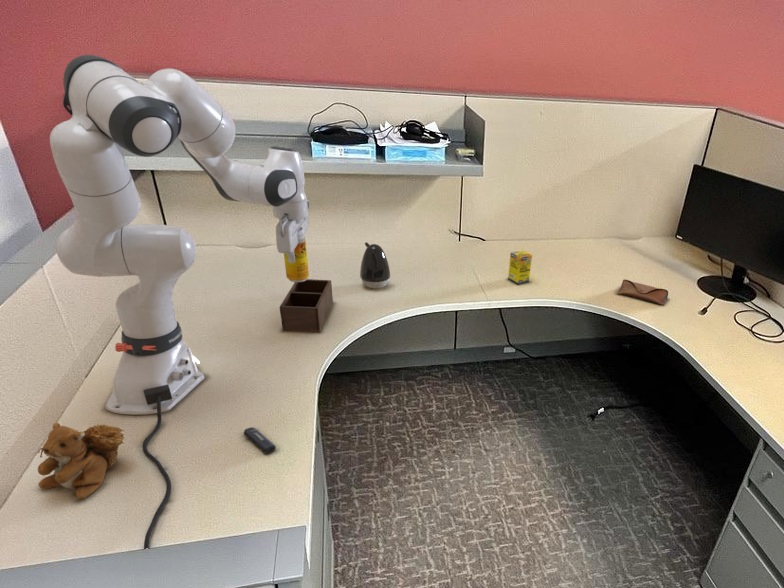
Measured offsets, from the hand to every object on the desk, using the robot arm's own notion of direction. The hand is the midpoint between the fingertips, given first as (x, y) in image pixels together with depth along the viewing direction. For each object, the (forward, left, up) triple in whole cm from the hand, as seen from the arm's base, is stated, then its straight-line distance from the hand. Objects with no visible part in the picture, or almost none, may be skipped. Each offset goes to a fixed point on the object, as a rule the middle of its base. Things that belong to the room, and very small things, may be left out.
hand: (295, 257), depth 159 cm
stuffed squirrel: (-67, +25, -22) cm, 74 cm away
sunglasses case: (+32, -116, -22) cm, 122 cm away
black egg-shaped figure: (+30, -18, -22) cm, 41 cm away
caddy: (+5, -1, -21) cm, 22 cm away
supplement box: (+41, -70, -22) cm, 84 cm away
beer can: (0, 0, -7) cm, 7 cm away
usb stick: (-56, -4, -22) cm, 60 cm away
